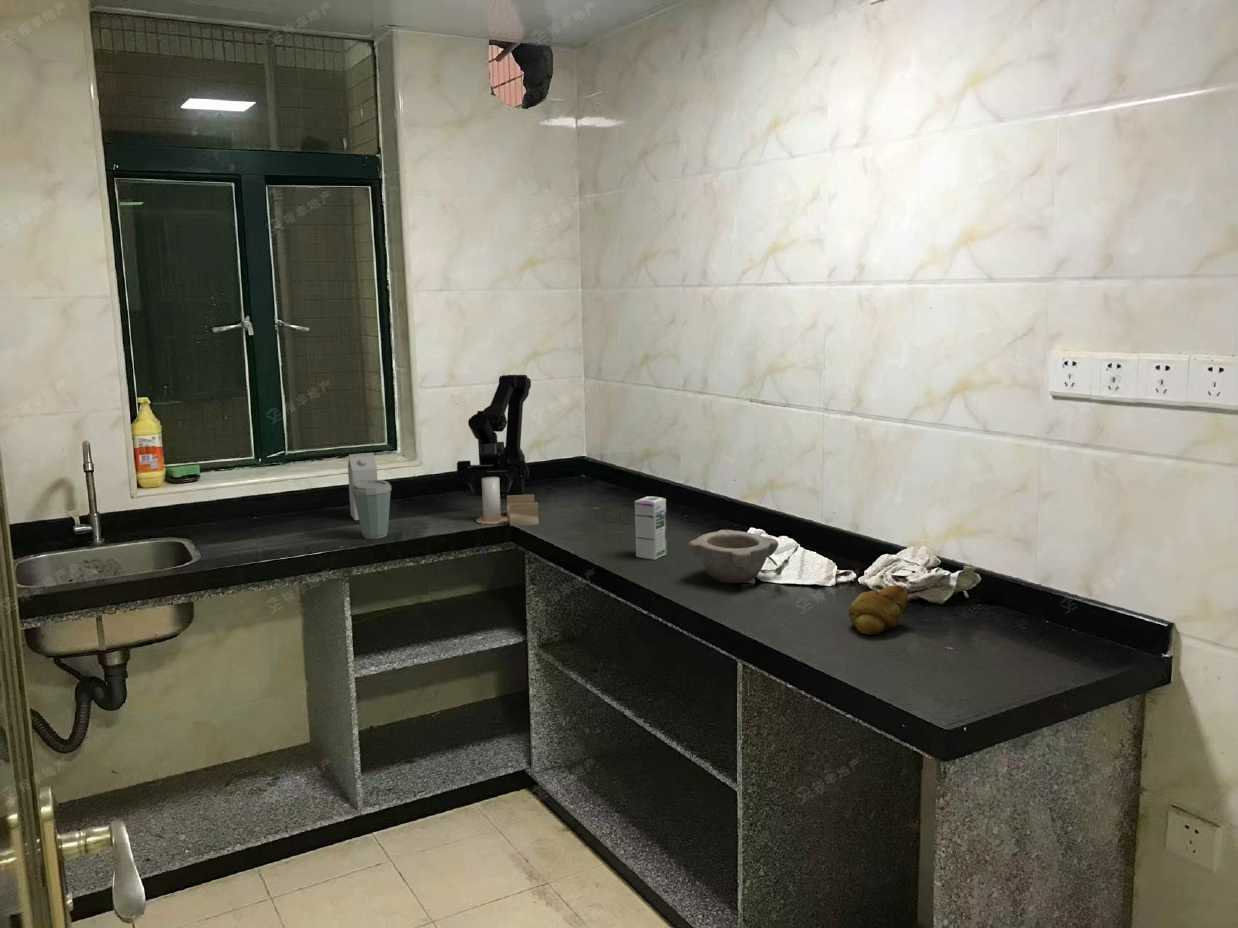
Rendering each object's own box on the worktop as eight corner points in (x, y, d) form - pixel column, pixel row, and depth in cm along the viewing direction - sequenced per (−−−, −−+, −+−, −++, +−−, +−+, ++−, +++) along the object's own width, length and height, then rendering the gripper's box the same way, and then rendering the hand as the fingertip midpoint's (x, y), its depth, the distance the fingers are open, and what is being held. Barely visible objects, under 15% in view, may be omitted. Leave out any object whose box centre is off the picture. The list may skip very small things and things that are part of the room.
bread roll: (881, 642, 181) (883, 600, 180) (834, 631, 187) (835, 591, 186) (910, 623, 191) (912, 584, 190) (864, 614, 197) (865, 575, 196)
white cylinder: (491, 516, 285) (489, 476, 283) (504, 518, 282) (502, 477, 280) (479, 520, 281) (478, 478, 279) (493, 522, 278) (491, 480, 276)
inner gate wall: (507, 515, 289) (506, 495, 288) (534, 514, 290) (533, 494, 289) (507, 516, 287) (507, 496, 286) (534, 515, 288) (534, 495, 287)
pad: (490, 516, 287) (490, 514, 287) (514, 519, 283) (514, 518, 283) (469, 522, 280) (469, 520, 280) (493, 526, 275) (493, 524, 275)
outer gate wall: (509, 524, 277) (509, 503, 276) (538, 523, 279) (537, 502, 278) (510, 525, 276) (509, 504, 275) (538, 524, 277) (537, 503, 276)
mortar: (741, 594, 211) (742, 553, 209) (680, 579, 222) (680, 540, 220) (784, 577, 223) (785, 538, 221) (724, 563, 234) (725, 526, 233)
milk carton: (350, 516, 290) (346, 452, 287) (374, 513, 293) (371, 450, 290) (355, 520, 284) (351, 456, 281) (379, 518, 287) (376, 454, 283)
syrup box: (655, 560, 238) (655, 501, 236) (634, 557, 241) (634, 499, 239) (667, 554, 243) (667, 497, 240) (646, 551, 246) (646, 495, 243)
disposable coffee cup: (403, 534, 267) (400, 480, 264) (373, 543, 258) (370, 487, 255) (375, 529, 273) (372, 477, 270) (345, 538, 264) (342, 483, 261)
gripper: (455, 433, 280) (457, 478, 271) (520, 431, 283) (525, 475, 274) (456, 456, 289) (458, 500, 280) (519, 453, 292) (523, 497, 283)
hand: (491, 492), depth 279 cm, fingers open, 9 cm apart
